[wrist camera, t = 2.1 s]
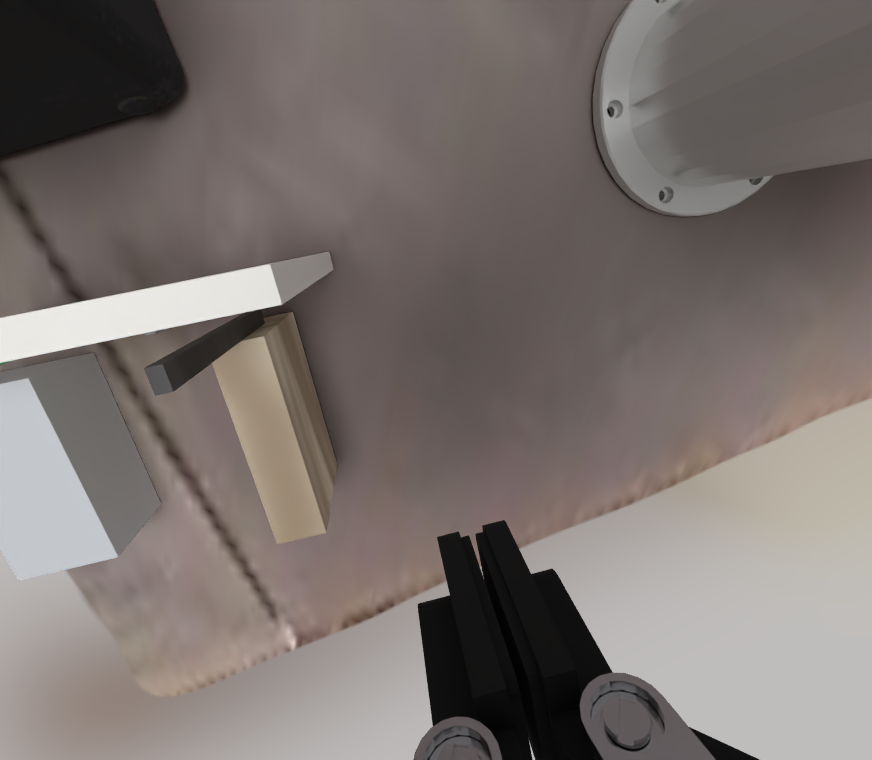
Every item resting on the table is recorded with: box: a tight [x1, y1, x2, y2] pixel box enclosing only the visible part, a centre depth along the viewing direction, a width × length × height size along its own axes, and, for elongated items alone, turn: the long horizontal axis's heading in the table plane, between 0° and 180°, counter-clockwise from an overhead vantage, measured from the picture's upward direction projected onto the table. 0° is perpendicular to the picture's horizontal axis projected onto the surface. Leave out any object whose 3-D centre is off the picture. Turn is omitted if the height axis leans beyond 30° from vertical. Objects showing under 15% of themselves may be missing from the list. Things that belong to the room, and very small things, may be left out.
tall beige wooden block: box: [144, 309, 337, 545], centre depth 20 cm, size 2×11×14 cm, turn 11°
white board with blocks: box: [0, 252, 334, 581], centre depth 19 cm, size 19×13×15 cm
